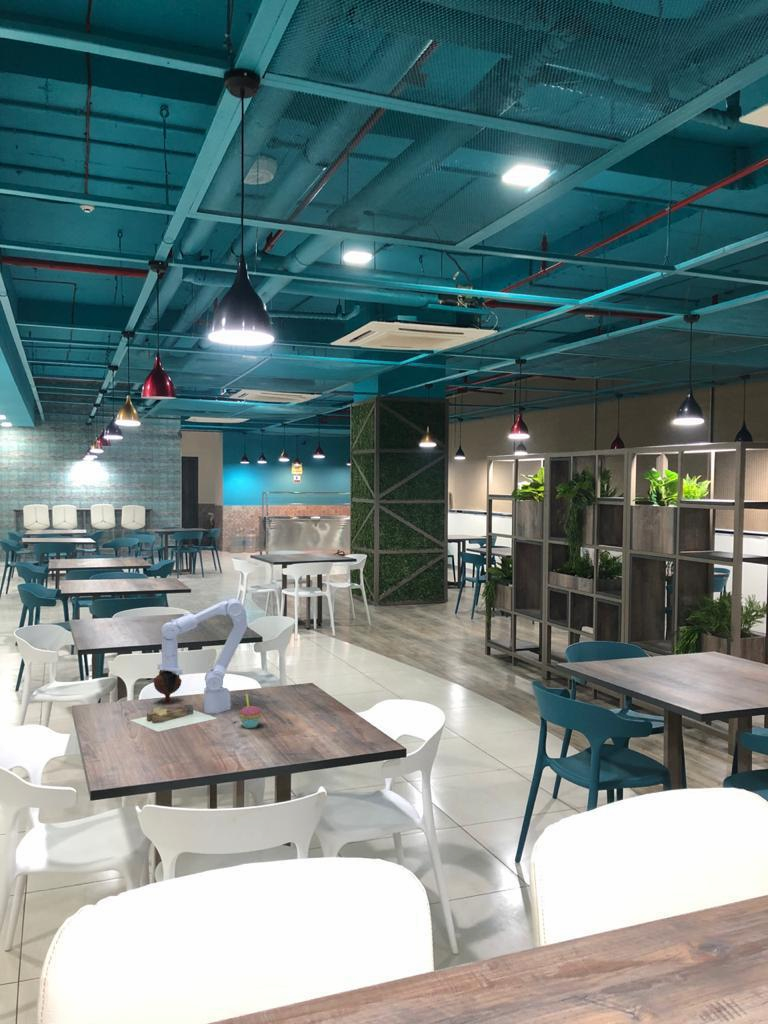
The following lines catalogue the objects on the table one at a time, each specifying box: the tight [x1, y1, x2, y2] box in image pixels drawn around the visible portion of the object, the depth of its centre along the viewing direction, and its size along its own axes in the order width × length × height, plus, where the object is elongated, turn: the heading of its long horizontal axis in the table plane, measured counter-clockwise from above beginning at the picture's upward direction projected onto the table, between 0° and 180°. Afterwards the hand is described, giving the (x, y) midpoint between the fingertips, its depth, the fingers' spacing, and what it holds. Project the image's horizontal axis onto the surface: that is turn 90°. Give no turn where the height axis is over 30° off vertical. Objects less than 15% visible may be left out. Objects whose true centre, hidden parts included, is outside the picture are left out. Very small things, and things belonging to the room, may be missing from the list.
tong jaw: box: [152, 707, 188, 723], centre depth 296 cm, size 14×2×2 cm, turn 139°
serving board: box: [130, 709, 218, 732], centre depth 296 cm, size 24×20×1 cm
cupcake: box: [237, 692, 264, 729], centre depth 291 cm, size 9×8×12 cm
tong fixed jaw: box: [146, 704, 194, 722], centre depth 299 cm, size 18×4×3 cm, turn 134°
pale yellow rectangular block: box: [153, 706, 168, 716], centre depth 293 cm, size 3×4×2 cm
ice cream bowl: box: [153, 670, 182, 704], centre depth 321 cm, size 11×11×15 cm
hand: (169, 691), depth 304 cm, fingers closed
